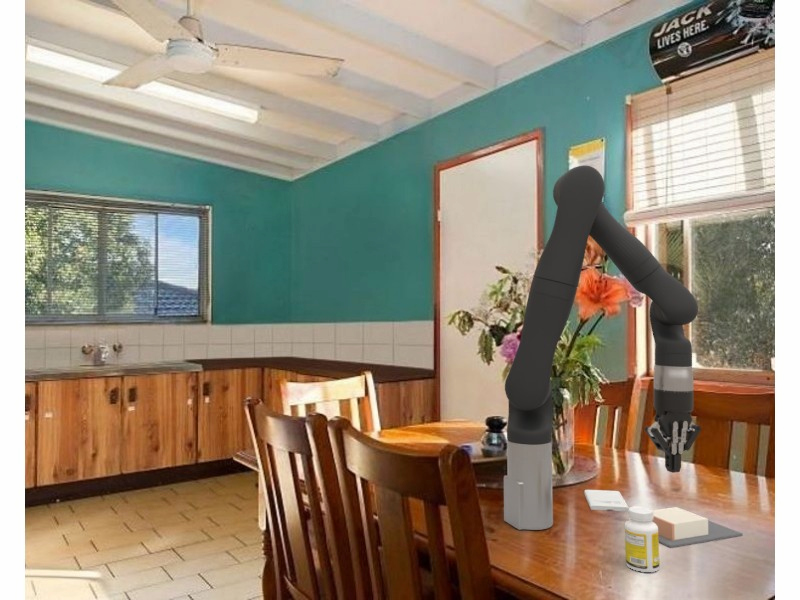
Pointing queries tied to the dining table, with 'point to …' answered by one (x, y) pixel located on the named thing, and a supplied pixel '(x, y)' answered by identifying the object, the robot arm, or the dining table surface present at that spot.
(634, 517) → the supplement bottle
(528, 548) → the dining table surface
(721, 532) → the mat
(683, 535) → the slab
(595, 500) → the external hard drive
